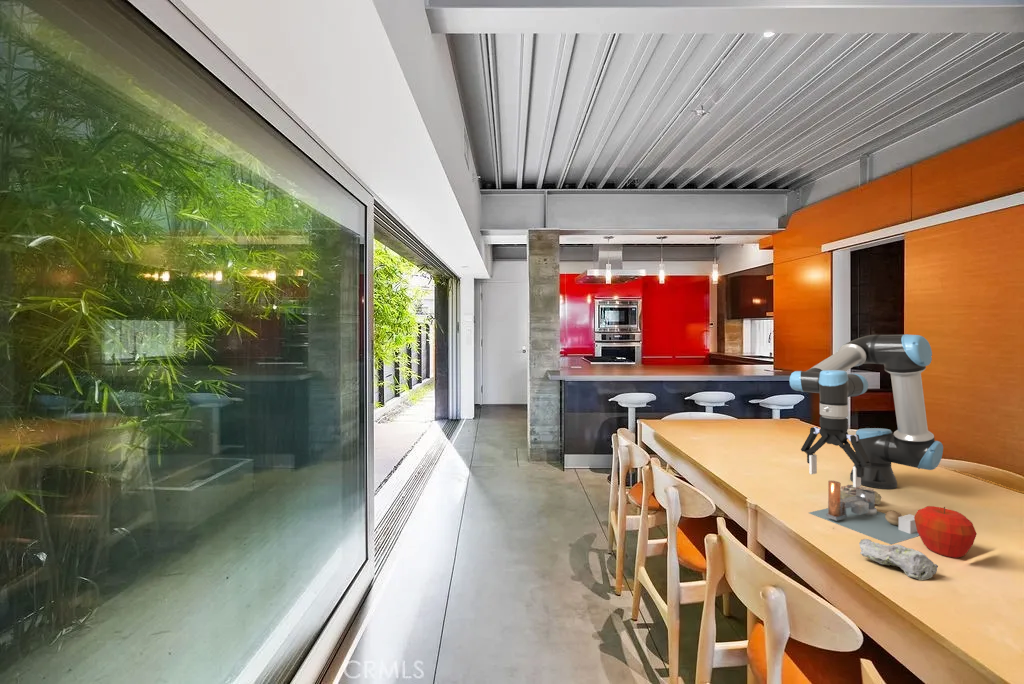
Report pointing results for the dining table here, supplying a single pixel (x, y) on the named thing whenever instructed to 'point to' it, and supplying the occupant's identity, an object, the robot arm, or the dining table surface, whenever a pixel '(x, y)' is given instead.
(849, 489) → the rock
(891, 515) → the light brown ball
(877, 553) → the mineral specimen
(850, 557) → the dining table surface
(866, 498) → the lever
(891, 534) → the board
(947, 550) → the apple
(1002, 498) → the dining table surface
